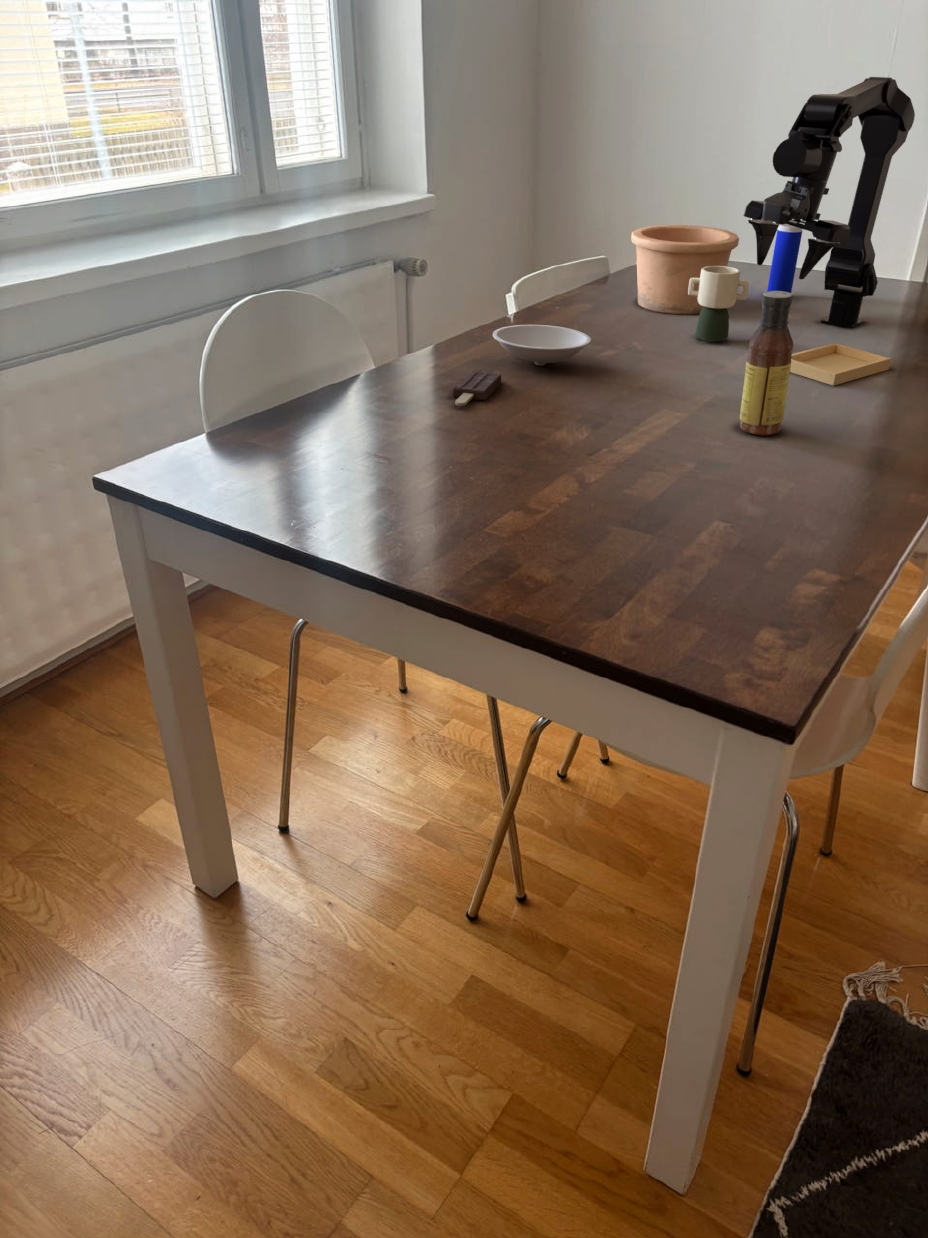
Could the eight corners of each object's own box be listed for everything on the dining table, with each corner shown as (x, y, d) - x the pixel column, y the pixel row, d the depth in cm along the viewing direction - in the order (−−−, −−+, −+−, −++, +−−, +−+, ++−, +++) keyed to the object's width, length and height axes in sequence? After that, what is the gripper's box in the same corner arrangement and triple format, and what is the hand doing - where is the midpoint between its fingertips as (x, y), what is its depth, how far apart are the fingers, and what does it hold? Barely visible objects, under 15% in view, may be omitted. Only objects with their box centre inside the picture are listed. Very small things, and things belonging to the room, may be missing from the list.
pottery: (652, 287, 219) (659, 220, 211) (744, 302, 208) (755, 232, 200) (607, 306, 204) (613, 235, 196) (703, 323, 193) (713, 248, 185)
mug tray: (777, 368, 168) (779, 356, 167) (833, 353, 176) (835, 342, 175) (833, 385, 160) (835, 374, 159) (888, 369, 168) (891, 358, 167)
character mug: (741, 337, 185) (752, 267, 178) (738, 347, 179) (750, 275, 172) (684, 332, 187) (693, 263, 181) (679, 342, 182) (688, 271, 175)
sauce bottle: (781, 425, 145) (807, 290, 134) (779, 439, 140) (805, 300, 129) (737, 420, 146) (759, 286, 136) (733, 434, 141) (755, 296, 131)
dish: (478, 368, 167) (478, 340, 165) (510, 347, 178) (510, 320, 176) (573, 382, 161) (575, 353, 158) (600, 359, 172) (602, 331, 170)
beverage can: (787, 294, 214) (800, 223, 206) (792, 300, 210) (805, 227, 202) (764, 293, 214) (776, 222, 206) (768, 299, 210) (780, 226, 202)
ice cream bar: (474, 411, 149) (502, 382, 161) (475, 400, 148) (502, 372, 160) (443, 407, 151) (473, 378, 163) (443, 397, 150) (473, 369, 162)
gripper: (739, 163, 164) (712, 257, 172) (831, 187, 153) (797, 287, 161) (776, 167, 171) (748, 258, 179) (867, 191, 159) (833, 286, 167)
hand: (779, 271), depth 171 cm, fingers open, 9 cm apart
